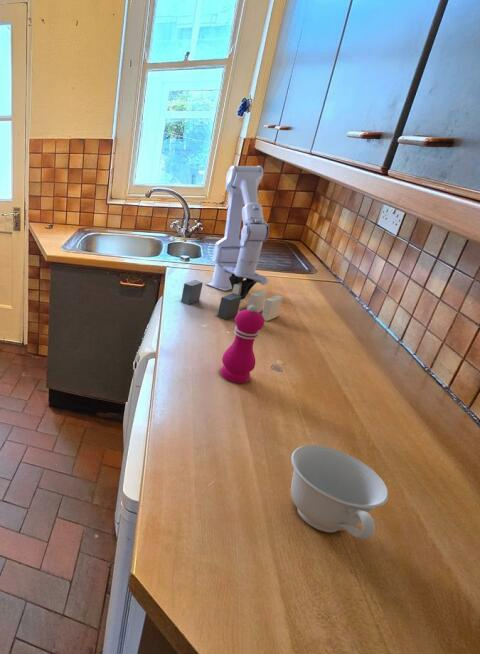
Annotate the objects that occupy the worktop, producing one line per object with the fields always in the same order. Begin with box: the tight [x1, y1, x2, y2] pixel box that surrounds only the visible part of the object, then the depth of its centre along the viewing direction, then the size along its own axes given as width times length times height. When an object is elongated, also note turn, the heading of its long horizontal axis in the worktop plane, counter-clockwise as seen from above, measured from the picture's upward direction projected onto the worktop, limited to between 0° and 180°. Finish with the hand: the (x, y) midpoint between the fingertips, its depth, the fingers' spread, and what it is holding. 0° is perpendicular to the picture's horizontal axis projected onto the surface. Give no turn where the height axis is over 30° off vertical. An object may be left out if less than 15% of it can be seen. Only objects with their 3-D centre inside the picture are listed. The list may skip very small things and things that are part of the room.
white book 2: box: [261, 294, 284, 322], centre depth 130 cm, size 6×2×7 cm, turn 120°
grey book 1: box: [180, 279, 204, 305], centre depth 143 cm, size 6×3×7 cm, turn 120°
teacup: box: [290, 444, 390, 540], centre depth 64 cm, size 12×15×10 cm
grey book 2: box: [216, 292, 242, 320], centre depth 132 cm, size 6×3×7 cm, turn 120°
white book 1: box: [246, 289, 268, 313], centre depth 134 cm, size 6×2×7 cm, turn 120°
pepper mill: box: [220, 305, 265, 384], centre depth 99 cm, size 7×7×20 cm
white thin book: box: [231, 282, 248, 304], centre depth 138 cm, size 6×2×7 cm, turn 120°
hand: (238, 297), depth 139 cm, fingers closed on white thin book, 2 cm apart
